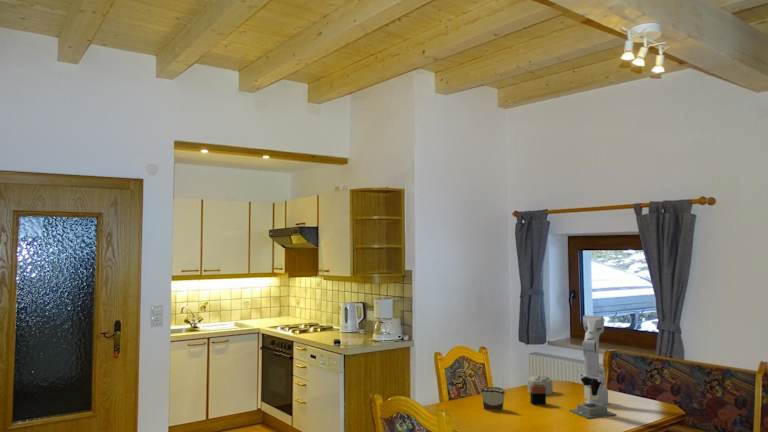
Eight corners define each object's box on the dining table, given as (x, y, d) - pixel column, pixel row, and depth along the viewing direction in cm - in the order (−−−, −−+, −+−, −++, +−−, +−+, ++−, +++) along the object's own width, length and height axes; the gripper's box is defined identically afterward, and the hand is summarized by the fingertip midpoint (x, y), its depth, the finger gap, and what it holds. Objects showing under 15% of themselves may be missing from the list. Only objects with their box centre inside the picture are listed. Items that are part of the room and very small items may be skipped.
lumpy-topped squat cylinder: (525, 391, 322) (525, 375, 322) (547, 389, 324) (547, 374, 325) (534, 395, 311) (533, 379, 312) (556, 394, 314) (556, 377, 314)
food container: (508, 408, 286) (508, 387, 287) (505, 411, 281) (505, 390, 281) (484, 405, 291) (483, 385, 292) (480, 408, 286) (480, 388, 286)
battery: (546, 404, 292) (545, 384, 293) (532, 405, 292) (532, 385, 292) (543, 402, 296) (542, 382, 297) (530, 402, 296) (529, 383, 297)
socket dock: (596, 407, 285) (596, 400, 285) (616, 415, 272) (616, 407, 272) (569, 411, 280) (568, 403, 280) (587, 418, 267) (587, 410, 267)
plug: (593, 397, 279) (592, 384, 279) (598, 399, 275) (598, 386, 276) (584, 398, 277) (584, 385, 278) (589, 399, 274) (589, 387, 274)
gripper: (574, 363, 283) (574, 391, 282) (593, 368, 269) (594, 398, 268) (586, 362, 285) (587, 390, 284) (606, 367, 271) (607, 397, 271)
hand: (591, 394), depth 276 cm, fingers closed on plug, 4 cm apart
